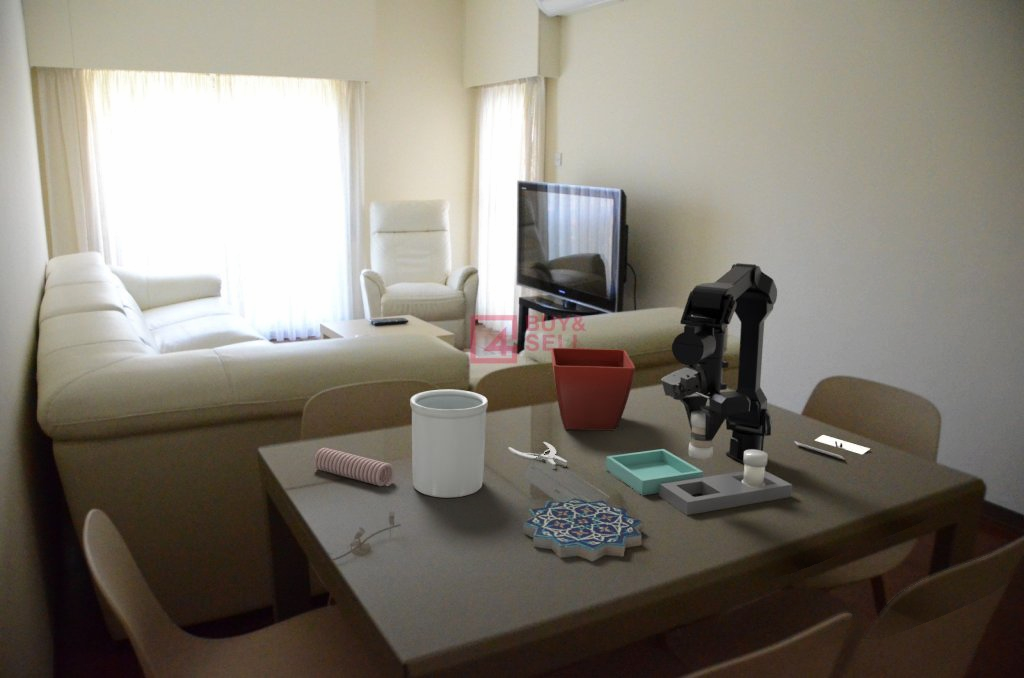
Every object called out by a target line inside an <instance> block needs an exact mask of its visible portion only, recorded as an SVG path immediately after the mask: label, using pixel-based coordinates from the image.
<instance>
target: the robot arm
mask: <svg viewBox="0 0 1024 678" xmlns="http://www.w3.org/2000/svg"><path fill="white" fill-rule="evenodd" d="M777 297H778V288H777V285H776V283H775V281H774V279H773V278H772V277H771V276H769V275H768V274H766V273H764V272H763V271H762V270H761V267H760V266H759V265H756V264H754V263H752V264H751V263H740V262H738V263H737V262H736V263H734V264H732V265H731V268H730V269H729V270H728V271H727V272H726V273H724V274H723V275H722V276H721V277H720V278H717V280H716V281H714V282H704V283H700V284H698V285H695V286H694V287H693V289H692V290H691V291H690V292H689V295H688V297H687V300H686V303H685V306H684V310H683V313H682V316H681V319H680V321H679V323H680V325H684V326H683V332H681V333H679V334H678V335H676V336H675V338H674V340H673V341H672V343H671V352H672V355H673V357H674V358H675V359H676V361H678V362H679V363H680V364H683V365H684V366H683V368H681V369H677V370H675V371H672V372H670V373H668V374H667V375H664V376H663V377H661V379H660V380H661V383H662V389H663V391H664V395H665V396H667V397H670V398H673V400H675V401H680V402H681V403H682V404H683V405H684V409H685V413H686V415H687V420H688V424H689V428H690V431H691V430H692V425H691V412H693V411H698V410H701V411H703V412H704V413H705V415H706V440H707V441H712V442H713V440H714V438H715V437H716V435H717V433H718V432H719V430H720V429H721V426H722V425H723V423H724V422H725V426H726V429H725V430H728V431H732V432H731V437H730V440H729V441H730V442H729V451H725V455H727V456H728V457H730V458H732V459H734V460H736V461H738V462H740V463H741V464H744V463H743V459H744V451H745V450H751V449H753V450H760V451H764V443H765V438H766V437H767V436H769V437H771V436H772V430H773V420H772V417H771V414H770V410H769V408H768V398H767V396H766V395H765V393H764V391H763V389H762V387H761V381H762V380H761V378H762V364H763V361H762V360H763V346H764V334H765V333H764V332H765V331H764V328H765V321H766V320H767V318H768V316H770V314H771V313H772V311H773V310H774V305H775V304H776V301H777ZM734 314H735V315H736V316H737V318H738V320H739V321H740V335H739V352H738V353H739V354H738V355H739V356H738V371H737V388H736V390H731V391H726V390H727V387H728V386H727V385H728V384H727V383H725V382H723V372H724V369H728V368H729V361H725V360H724V359H725V345H726V335H727V334H726V330H727V328H728V325H730V324H731V320H732V319H733V316H734ZM723 390H724V391H723ZM708 400H709V402H708ZM707 402H708V405H707Z"/></svg>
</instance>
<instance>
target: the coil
mask: <svg viewBox="0 0 1024 678" xmlns="http://www.w3.org/2000/svg"><path fill="white" fill-rule="evenodd" d="M313 464H314V468H315V469H317V470H318V471H319V470H320V471H322V472H327V473H329V474H330V473H331V474H333V475H337V476H339V477H340V476H341V477H344V478H348V479H351V480H355V481H359V482H363V483H366V484H371V485H375V486H378V487H383V486H385V487H389V486H391V485H392V484H393V482H394V480H395V468H394V467H393V465H392V464H391V463H388V462H385V461H381V460H375V459H372V458H368V457H365V456H361V455H356V454H351V453H347V452H345V451H340V450H335V449H331V448H328V447H322V448H320V449H319V450H318V451H317V452H316V454H315V456H314V459H313Z"/></svg>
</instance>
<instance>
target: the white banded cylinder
mask: <svg viewBox="0 0 1024 678" xmlns="http://www.w3.org/2000/svg"><path fill="white" fill-rule="evenodd" d="M691 425H692V430H691V429H690V431H691V432H690V442H688V452H687V453H688V456H689V457H690V458H694V459H698V460H709V459H712V458H713V453H714V444H712V443H713V440H712V441H707V440H706V415H705V413H704V412H703V411H701V410H698V411H693V412H691Z"/></svg>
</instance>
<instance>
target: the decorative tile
mask: <svg viewBox="0 0 1024 678" xmlns="http://www.w3.org/2000/svg"><path fill="white" fill-rule="evenodd" d="M522 524H523V525H522V526H523V528H522V530H523V531H522V533H523V534H524V535H526V536H528V537H531V538H533V539H532V540H533V541H532V542H533V544H532V545H533V548H538V549H539V548H540V549H547V550H552V551H553V552H554V554H555V555H556V556H557V557H558V558H561V559H562V558H568V557H576V556H577V557H580V558H582V559H585V560H588V561H590V562H595V561H596V560H598V559H600V558H602V557H603V556H613V557H624V556H625V551H626V548H632V547H637V546H641V545H642V531H643V530H642V529H643V520H641V519H638V518H636V517H632V516H630V515H628V510H627V508H623V507H622V508H621V507H616V506H611V505H610V504H608V503H607V502H606V501H605V500H591V501H587V500H584V499H581V498H578V497H572V498H570V499H567V500H565V501H559V500H558V501H556V500H555V501H554V500H547V501H546V503H545V505H544V507H537V508H530V509H528V519H527V520H526V521H524V522H523V523H522Z"/></svg>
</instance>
